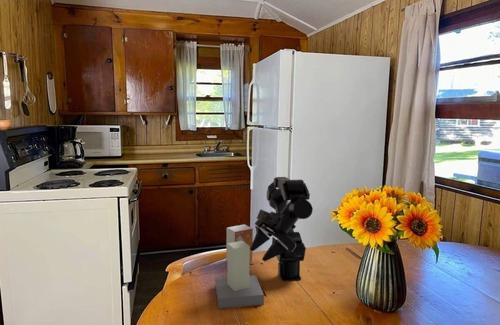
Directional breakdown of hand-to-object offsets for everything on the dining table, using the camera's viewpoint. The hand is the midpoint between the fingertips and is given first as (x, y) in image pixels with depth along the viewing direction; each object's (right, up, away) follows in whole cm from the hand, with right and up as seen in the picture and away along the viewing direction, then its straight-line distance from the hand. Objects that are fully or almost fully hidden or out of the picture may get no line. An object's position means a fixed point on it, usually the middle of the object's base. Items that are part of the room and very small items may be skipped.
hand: (256, 255), depth 108 cm
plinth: (-6, -12, -2) cm, 13 cm away
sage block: (-6, -9, -2) cm, 11 cm away
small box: (-6, -9, +24) cm, 27 cm away
